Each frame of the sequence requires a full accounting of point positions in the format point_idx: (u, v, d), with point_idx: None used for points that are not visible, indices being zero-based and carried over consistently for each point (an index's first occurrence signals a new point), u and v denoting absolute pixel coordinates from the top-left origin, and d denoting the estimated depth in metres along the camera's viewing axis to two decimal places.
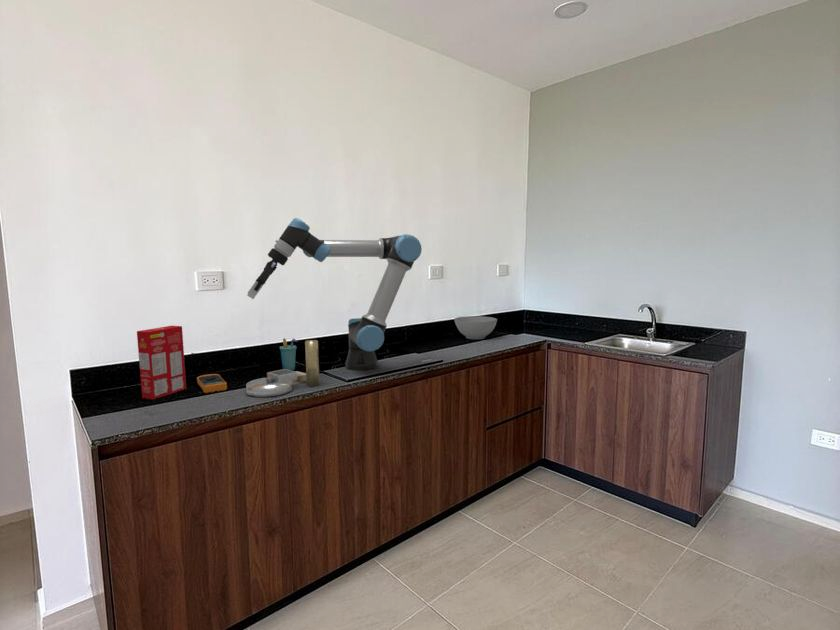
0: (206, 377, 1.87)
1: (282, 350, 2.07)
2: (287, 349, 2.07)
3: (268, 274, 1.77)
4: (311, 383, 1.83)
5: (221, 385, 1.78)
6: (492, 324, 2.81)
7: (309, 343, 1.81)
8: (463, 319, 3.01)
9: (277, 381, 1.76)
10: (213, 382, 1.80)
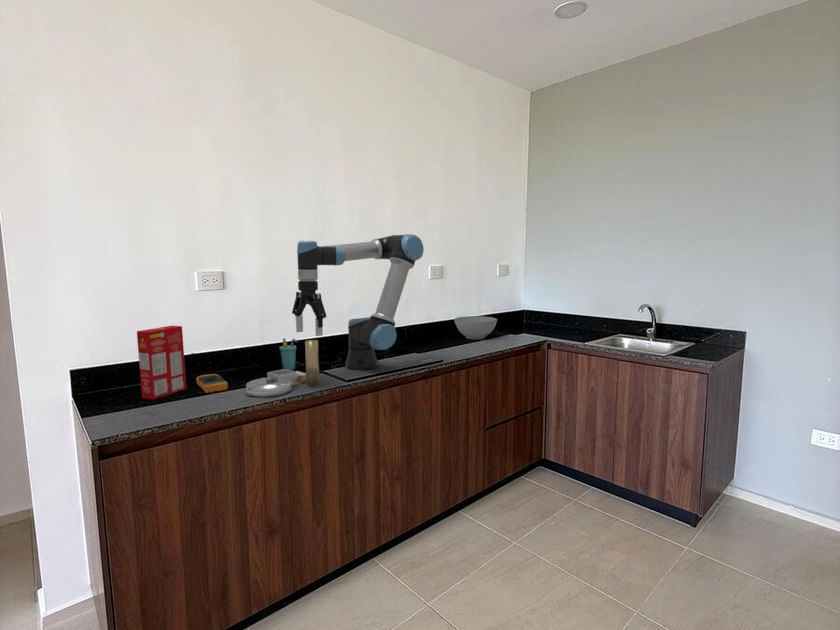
0: (205, 377, 1.87)
1: (282, 350, 2.07)
2: (287, 349, 2.07)
3: (322, 307, 1.77)
4: (311, 383, 1.83)
5: (222, 385, 1.78)
6: (492, 324, 2.81)
7: (309, 343, 1.81)
8: (463, 319, 3.01)
9: (277, 381, 1.76)
10: (213, 382, 1.80)
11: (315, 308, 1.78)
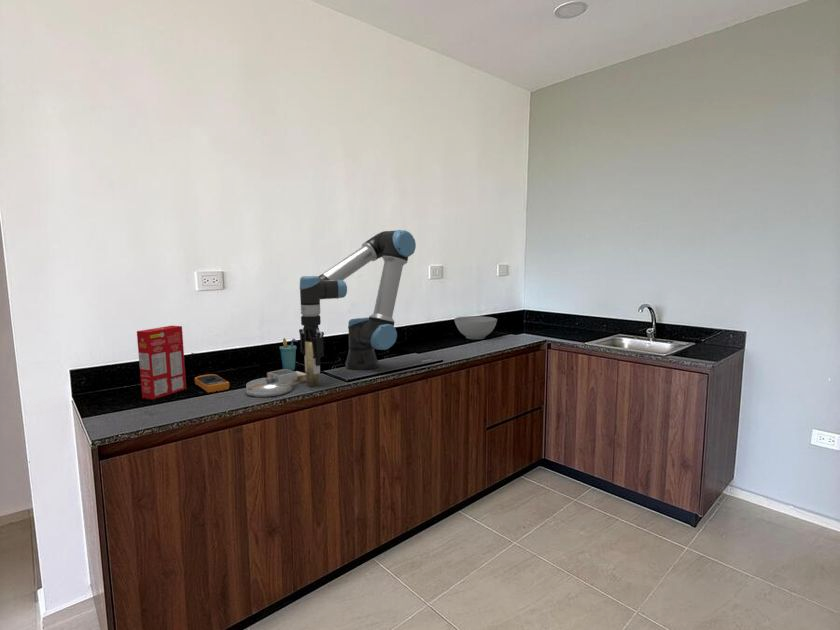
0: (204, 377, 1.87)
1: (282, 350, 2.07)
2: (287, 349, 2.07)
3: (322, 346, 1.80)
4: (311, 383, 1.83)
5: (224, 384, 1.79)
6: (492, 324, 2.81)
7: (309, 343, 1.81)
8: (463, 319, 3.01)
9: (277, 381, 1.76)
10: (215, 382, 1.81)
11: (315, 346, 1.81)
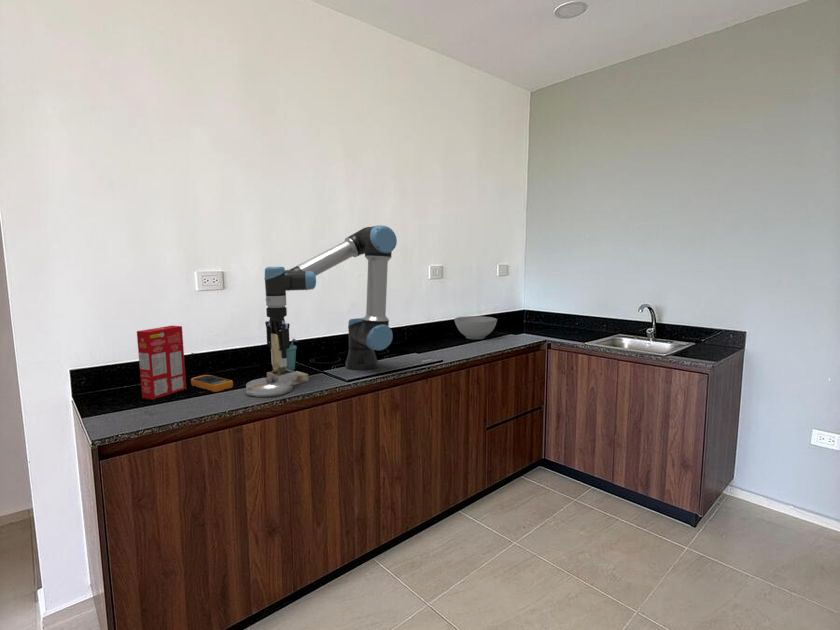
0: (201, 378, 1.86)
1: None
2: (287, 349, 2.07)
3: (287, 338, 1.76)
4: None
5: (229, 383, 1.81)
6: (492, 324, 2.81)
7: (274, 335, 1.77)
8: (463, 319, 3.01)
9: (277, 381, 1.76)
10: (217, 381, 1.81)
11: (281, 338, 1.77)
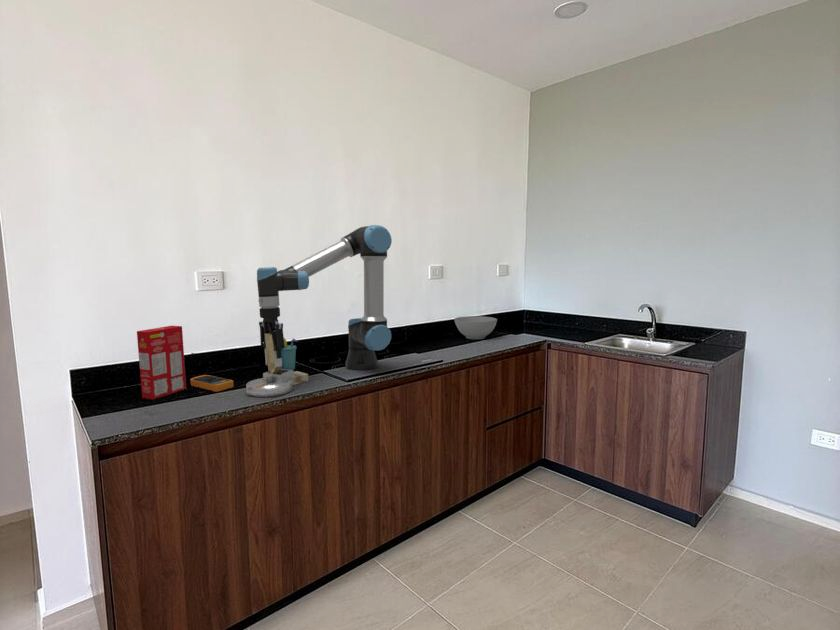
0: (201, 378, 1.86)
1: (282, 350, 2.07)
2: (287, 349, 2.07)
3: (282, 338, 1.76)
4: None
5: (230, 383, 1.81)
6: (492, 324, 2.81)
7: (269, 335, 1.77)
8: (463, 319, 3.01)
9: (279, 380, 1.77)
10: (218, 381, 1.81)
11: (275, 338, 1.77)
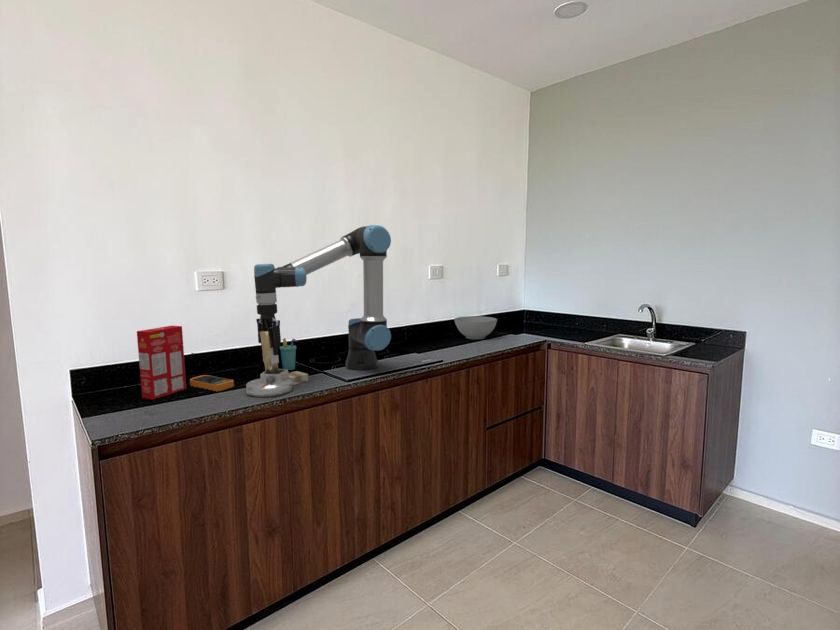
0: (200, 378, 1.85)
1: (282, 350, 2.07)
2: (287, 349, 2.07)
3: (278, 335, 1.76)
4: (272, 373, 1.79)
5: (230, 382, 1.81)
6: (492, 324, 2.81)
7: (266, 332, 1.77)
8: (463, 319, 3.01)
9: (279, 379, 1.78)
10: (218, 381, 1.82)
11: (272, 335, 1.77)
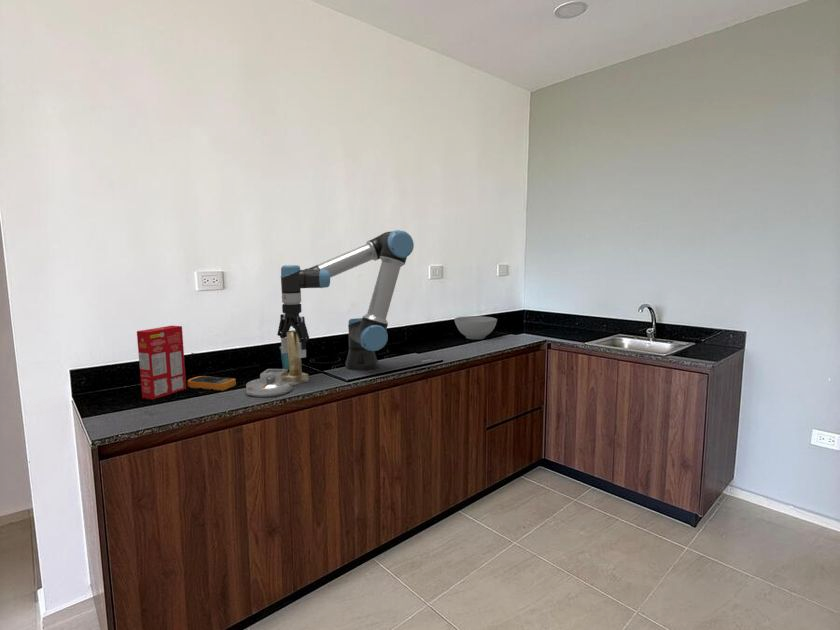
0: (198, 379, 1.84)
1: None
2: None
3: (305, 330, 1.83)
4: (295, 372, 1.88)
5: (233, 381, 1.83)
6: (492, 324, 2.81)
7: (292, 333, 1.86)
8: (463, 319, 3.01)
9: (279, 379, 1.78)
10: (220, 380, 1.83)
11: (299, 331, 1.84)
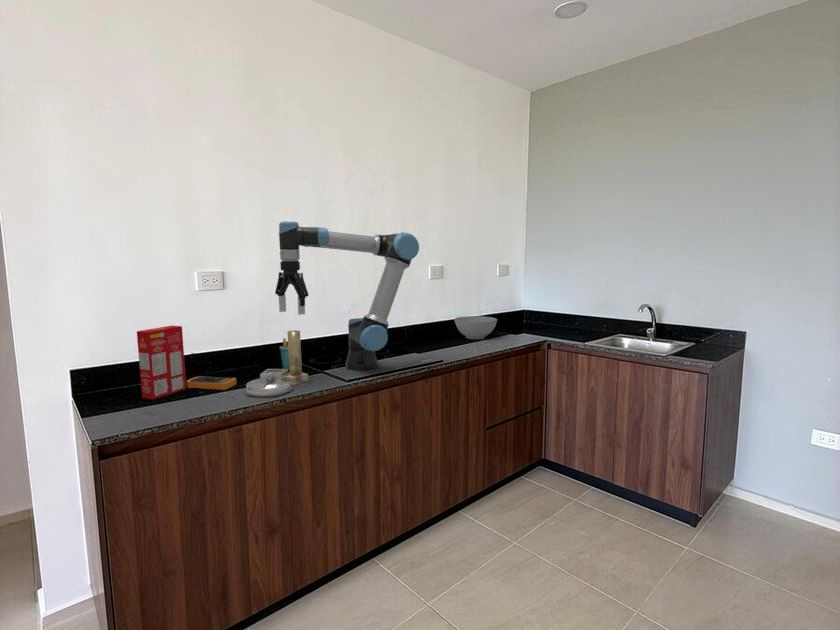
0: (198, 379, 1.84)
1: (282, 350, 2.07)
2: (287, 349, 2.07)
3: (304, 286, 1.81)
4: (295, 372, 1.88)
5: (234, 380, 1.84)
6: (492, 324, 2.81)
7: (293, 333, 1.86)
8: (463, 319, 3.01)
9: (279, 379, 1.78)
10: (221, 380, 1.83)
11: (297, 287, 1.82)
